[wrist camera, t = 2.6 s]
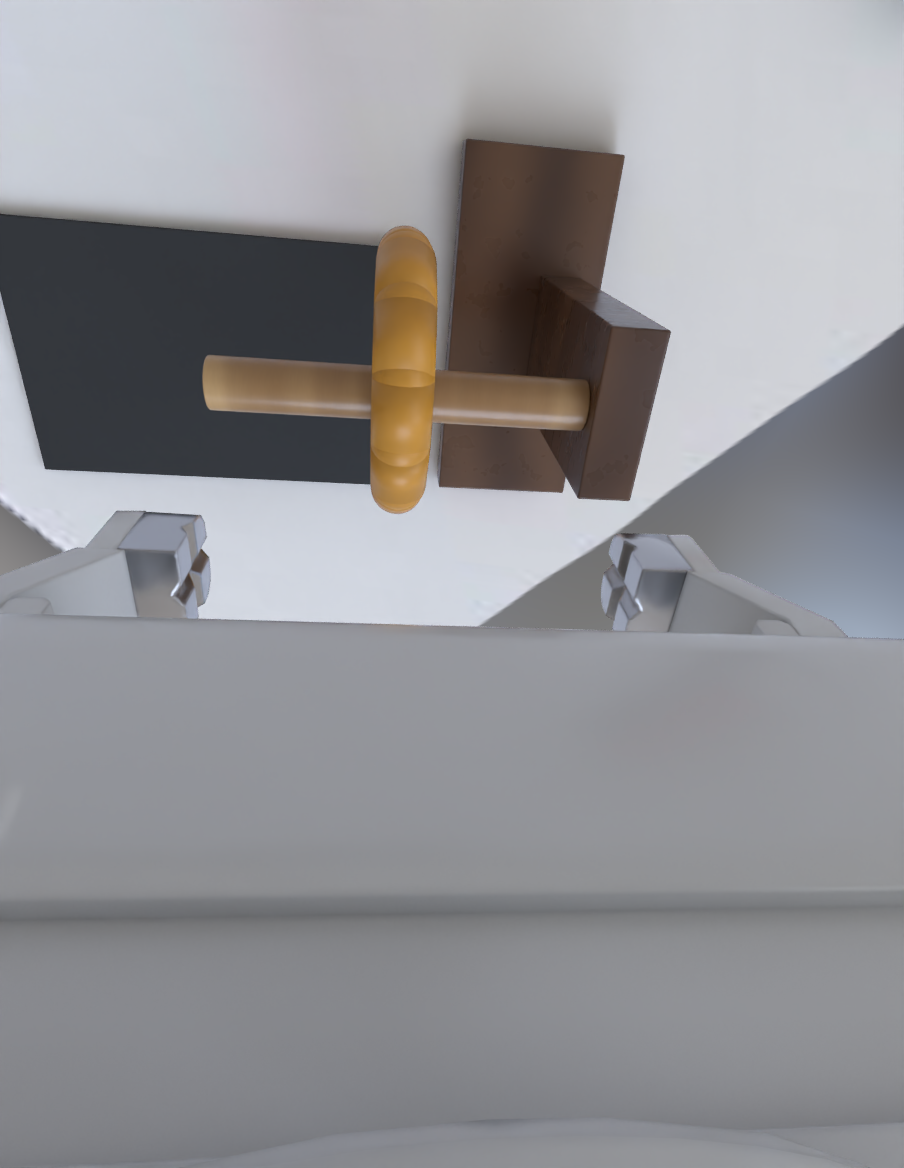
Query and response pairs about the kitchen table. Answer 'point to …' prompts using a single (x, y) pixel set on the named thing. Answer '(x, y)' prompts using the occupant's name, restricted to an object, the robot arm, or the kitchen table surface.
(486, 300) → the rack
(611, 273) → the kitchen table surface
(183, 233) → the mat
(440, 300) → the kitchen table surface
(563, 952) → the robot arm
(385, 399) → the ring
